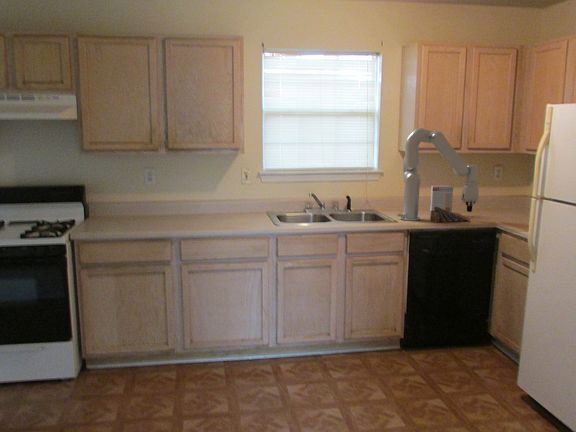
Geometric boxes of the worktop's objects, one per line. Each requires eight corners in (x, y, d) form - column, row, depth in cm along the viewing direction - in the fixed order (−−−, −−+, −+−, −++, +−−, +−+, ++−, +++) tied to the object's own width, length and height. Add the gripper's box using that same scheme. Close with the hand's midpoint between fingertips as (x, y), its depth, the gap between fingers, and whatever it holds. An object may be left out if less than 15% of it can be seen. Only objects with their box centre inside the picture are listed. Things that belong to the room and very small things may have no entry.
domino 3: (455, 221, 333) (445, 212, 330) (451, 220, 338) (441, 211, 335) (457, 220, 333) (446, 210, 330) (452, 218, 338) (442, 209, 335)
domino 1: (442, 222, 331) (437, 208, 328) (438, 221, 336) (433, 207, 333) (444, 221, 331) (439, 207, 329) (440, 219, 336) (435, 206, 333)
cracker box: (450, 215, 360) (451, 185, 356) (451, 216, 354) (453, 186, 350) (429, 214, 361) (431, 185, 357) (431, 215, 355) (432, 185, 351)
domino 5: (469, 221, 335) (457, 215, 333) (464, 220, 340) (453, 214, 337) (470, 219, 335) (458, 213, 332) (465, 217, 340) (454, 211, 337)
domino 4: (462, 221, 334) (451, 214, 331) (458, 220, 339) (447, 213, 336) (463, 219, 334) (452, 212, 331) (459, 218, 339) (448, 211, 336)
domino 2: (449, 222, 332) (441, 210, 329) (445, 220, 337) (437, 209, 334) (451, 220, 332) (442, 209, 329) (446, 219, 337) (438, 208, 334)
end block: (435, 222, 329) (436, 212, 327) (430, 221, 335) (430, 210, 334) (439, 222, 329) (439, 212, 328) (433, 220, 336) (434, 210, 335)
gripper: (477, 183, 339) (475, 210, 342) (457, 183, 336) (455, 211, 339) (484, 184, 332) (482, 212, 335) (464, 184, 329) (462, 212, 332)
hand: (469, 211), depth 337 cm, fingers closed
